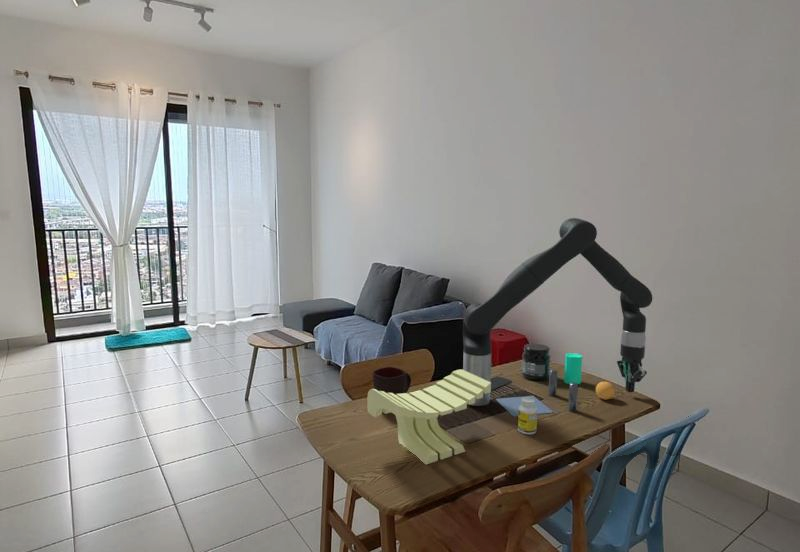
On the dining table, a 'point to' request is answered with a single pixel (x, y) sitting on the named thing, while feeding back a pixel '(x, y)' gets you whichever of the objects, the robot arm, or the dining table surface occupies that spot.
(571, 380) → the candle
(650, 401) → the dining table surface
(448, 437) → the slatted curved stool
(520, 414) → the supplement bottle
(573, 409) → the near post
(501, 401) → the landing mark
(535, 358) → the supplement container
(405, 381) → the cup
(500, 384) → the phone
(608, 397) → the ball
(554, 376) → the far post
